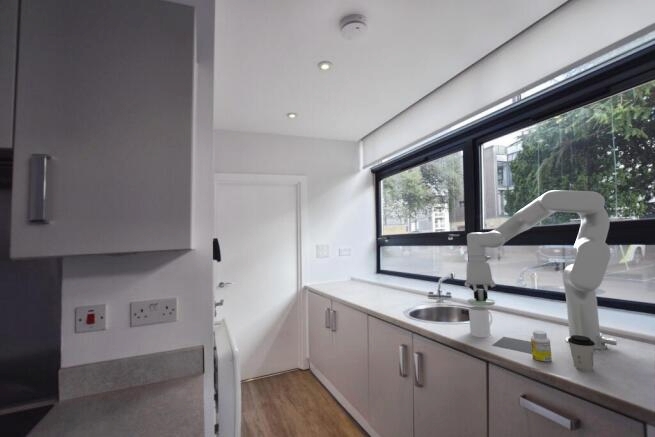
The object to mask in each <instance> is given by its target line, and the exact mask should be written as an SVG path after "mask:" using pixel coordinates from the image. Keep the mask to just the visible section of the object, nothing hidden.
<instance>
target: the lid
mask: <svg viewBox="0 0 655 437" xmlns="http://www.w3.org/2000/svg"><path fill="white" fill-rule="evenodd" d="M476 290H477V292H478V301H476V299H475V298H474V297H473V298H469V299H467V303H468V305H469V304H470V305H473V306H480V307H485V306H494V305H495V304H496V301H495V300H494V299H490V298H488V299H486V300H487V301H485V300H484V288H476Z"/></svg>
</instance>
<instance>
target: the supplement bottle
mask: <svg viewBox="0 0 655 437" xmlns="http://www.w3.org/2000/svg"><path fill="white" fill-rule="evenodd" d="M547 335H548V334H547V332H546V331H543V330H533V331H532V336H531V337H530V342H531V345H532V354H531V355H532V360H533V361H535V362H537V363H541V364H551V363H553V357H552V349H551V339H550V338H548V336H547Z"/></svg>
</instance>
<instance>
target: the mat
mask: <svg viewBox="0 0 655 437" xmlns="http://www.w3.org/2000/svg"><path fill="white" fill-rule="evenodd" d="M491 346H493V347H497V348H502V349H507V350H510V351H511V350H512V351H516V352H521V353H525V354H529V355H532V345H531V340H530V341H528V340H523V339H519V338H513V337H508V336H502V337H501V338H500V339H498V340H497V341H495V342H494V343H492V345H491Z"/></svg>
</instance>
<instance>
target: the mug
mask: <svg viewBox="0 0 655 437" xmlns="http://www.w3.org/2000/svg"><path fill="white" fill-rule="evenodd" d="M468 315H469V316H468V317H469V327H470V328H469V330H470V332H469V333H470V336H473V337H476V338H477V337H478V338H489V337H491V336H492V334H491V325H492V324H493V323H492V322H493V315H492V313H491V312H490V311H489V308H488V307H485V306H479V305H473V306H469V307H468Z"/></svg>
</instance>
